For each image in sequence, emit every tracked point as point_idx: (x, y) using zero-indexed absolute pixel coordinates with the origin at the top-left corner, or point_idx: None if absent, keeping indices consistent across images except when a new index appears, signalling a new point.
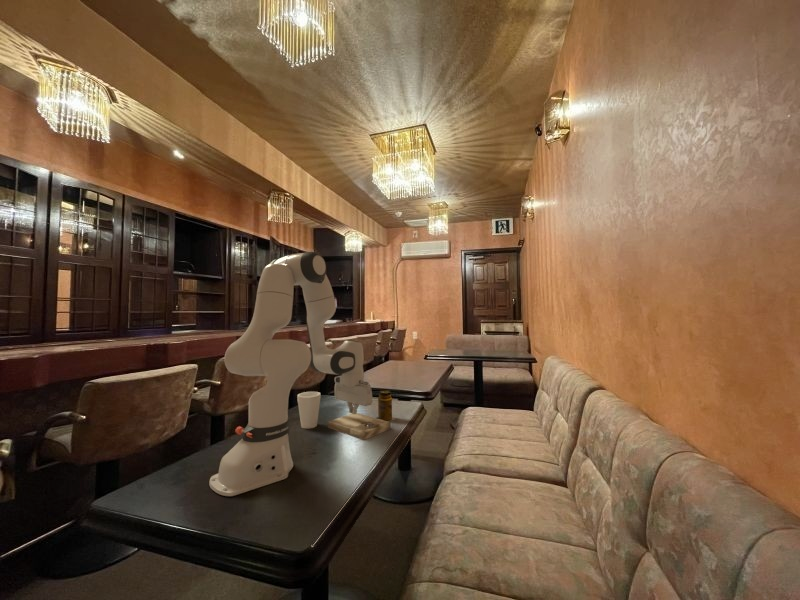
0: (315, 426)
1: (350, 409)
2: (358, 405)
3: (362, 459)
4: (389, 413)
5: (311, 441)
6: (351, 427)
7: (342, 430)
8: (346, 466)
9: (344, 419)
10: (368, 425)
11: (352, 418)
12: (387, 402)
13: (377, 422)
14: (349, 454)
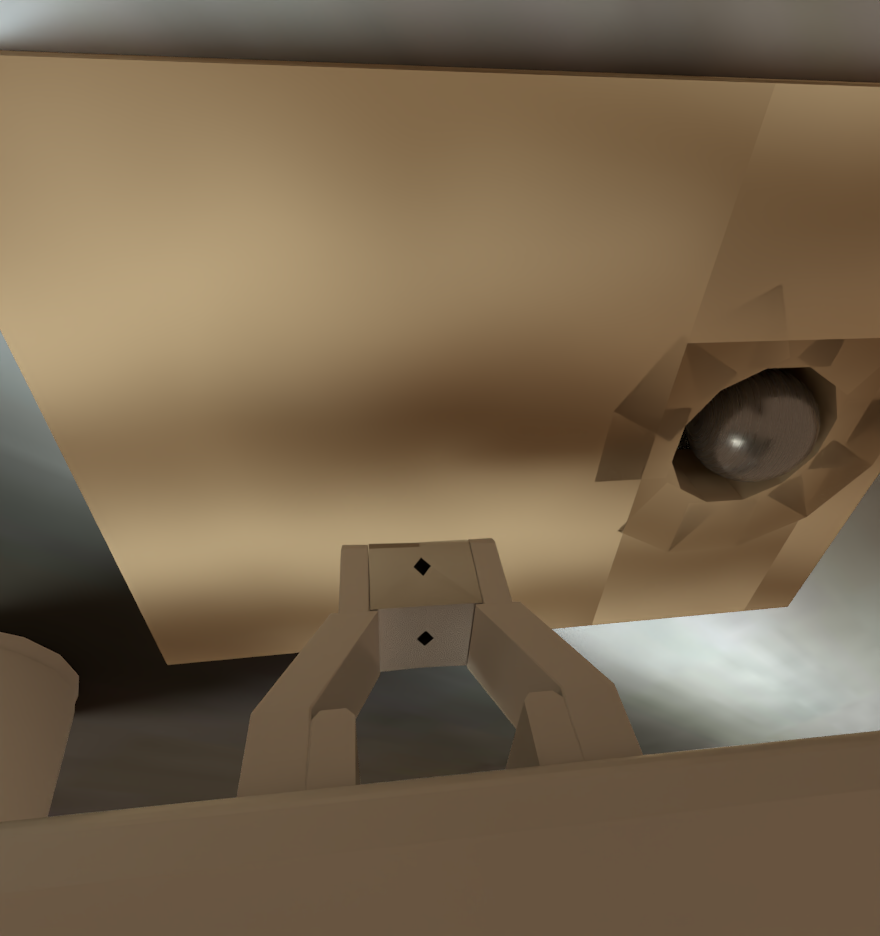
0: (59, 658)
1: (390, 661)
2: (605, 688)
3: (859, 678)
4: None
5: (393, 746)
6: (579, 602)
7: None
8: (802, 734)
9: (248, 520)
10: (766, 478)
11: (300, 417)
12: None
13: (848, 278)
14: (756, 691)
